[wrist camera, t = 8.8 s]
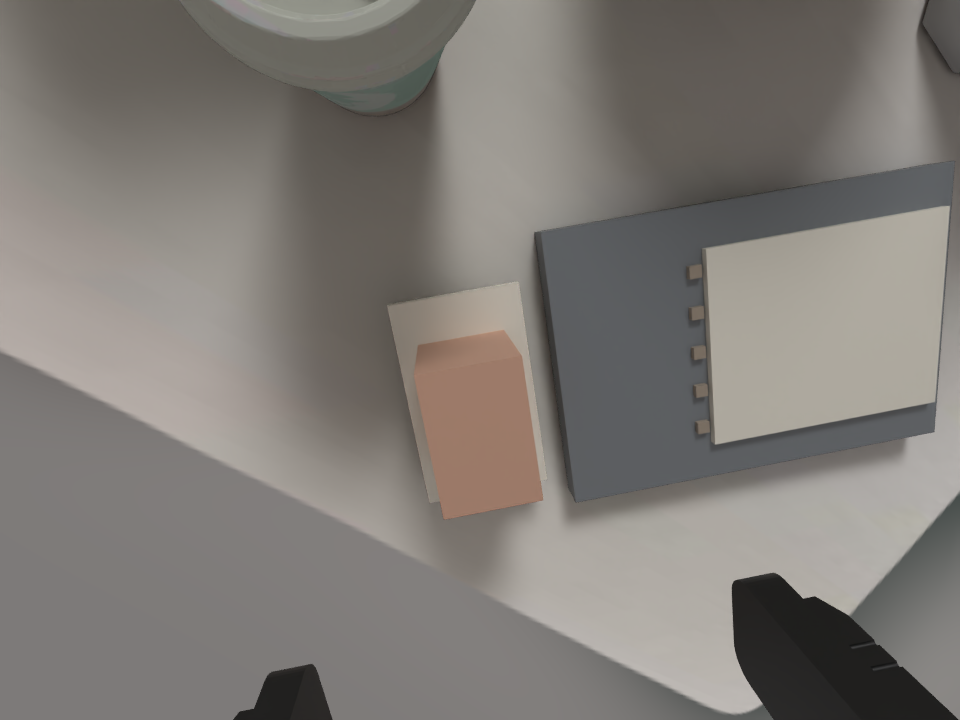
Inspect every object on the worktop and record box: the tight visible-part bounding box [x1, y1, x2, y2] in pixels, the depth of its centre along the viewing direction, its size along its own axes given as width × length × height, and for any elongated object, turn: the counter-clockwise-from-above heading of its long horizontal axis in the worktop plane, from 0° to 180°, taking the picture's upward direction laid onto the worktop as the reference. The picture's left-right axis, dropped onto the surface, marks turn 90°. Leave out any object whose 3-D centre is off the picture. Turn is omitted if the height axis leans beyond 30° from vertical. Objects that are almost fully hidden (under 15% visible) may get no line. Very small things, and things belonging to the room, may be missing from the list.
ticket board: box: [535, 161, 955, 502], centre depth 26 cm, size 20×14×2 cm
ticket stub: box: [387, 282, 547, 520], centre depth 22 cm, size 6×10×6 cm, turn 10°
